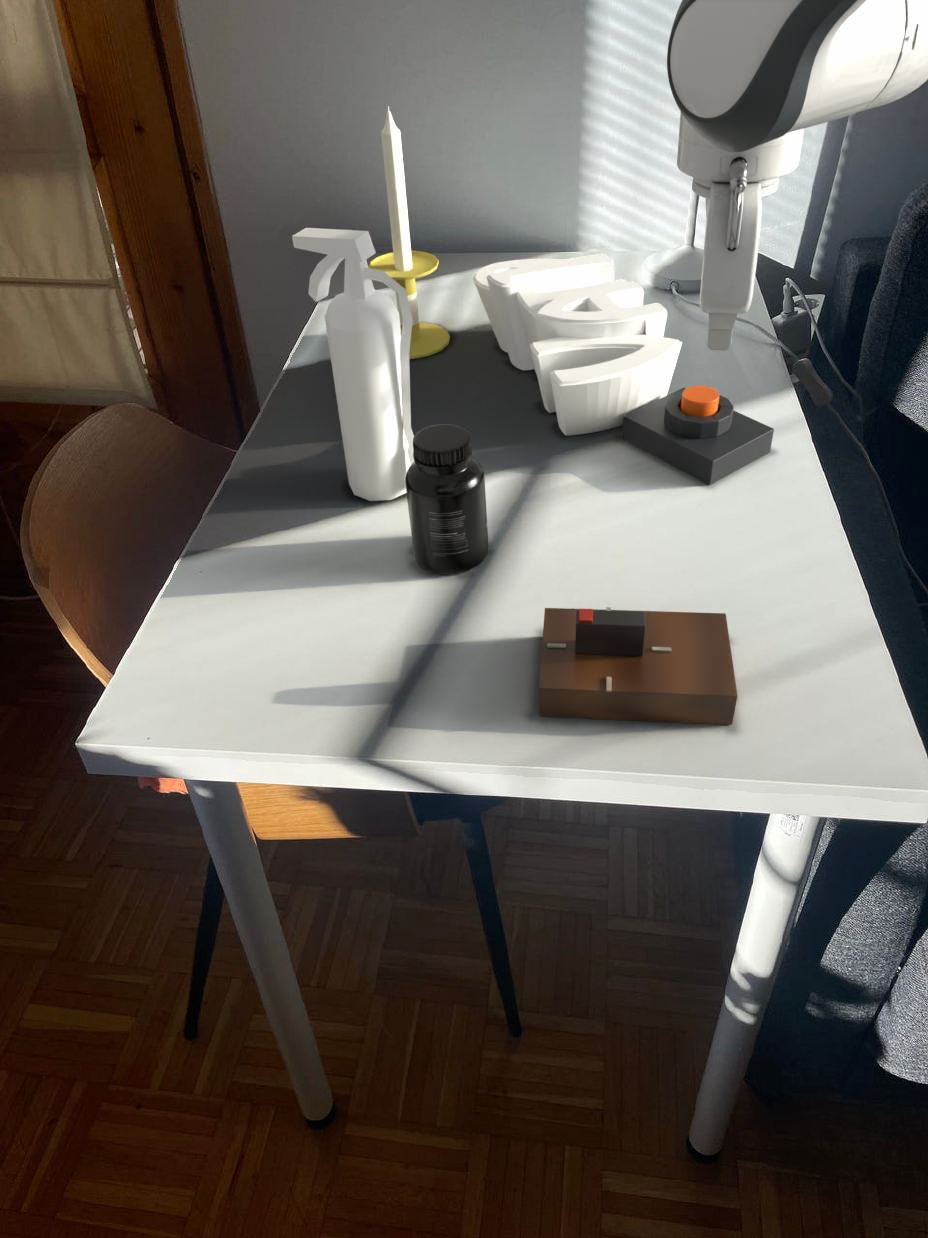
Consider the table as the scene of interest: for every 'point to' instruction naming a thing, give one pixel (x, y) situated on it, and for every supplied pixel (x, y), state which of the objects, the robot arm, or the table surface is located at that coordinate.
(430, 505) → the supplement bottle
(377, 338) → the fire extinguisher
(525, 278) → the white wavy slab sculpture
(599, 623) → the black rectangular block
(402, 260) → the candle
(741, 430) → the push button base
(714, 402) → the orange push button
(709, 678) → the dial panel
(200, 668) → the table surface
